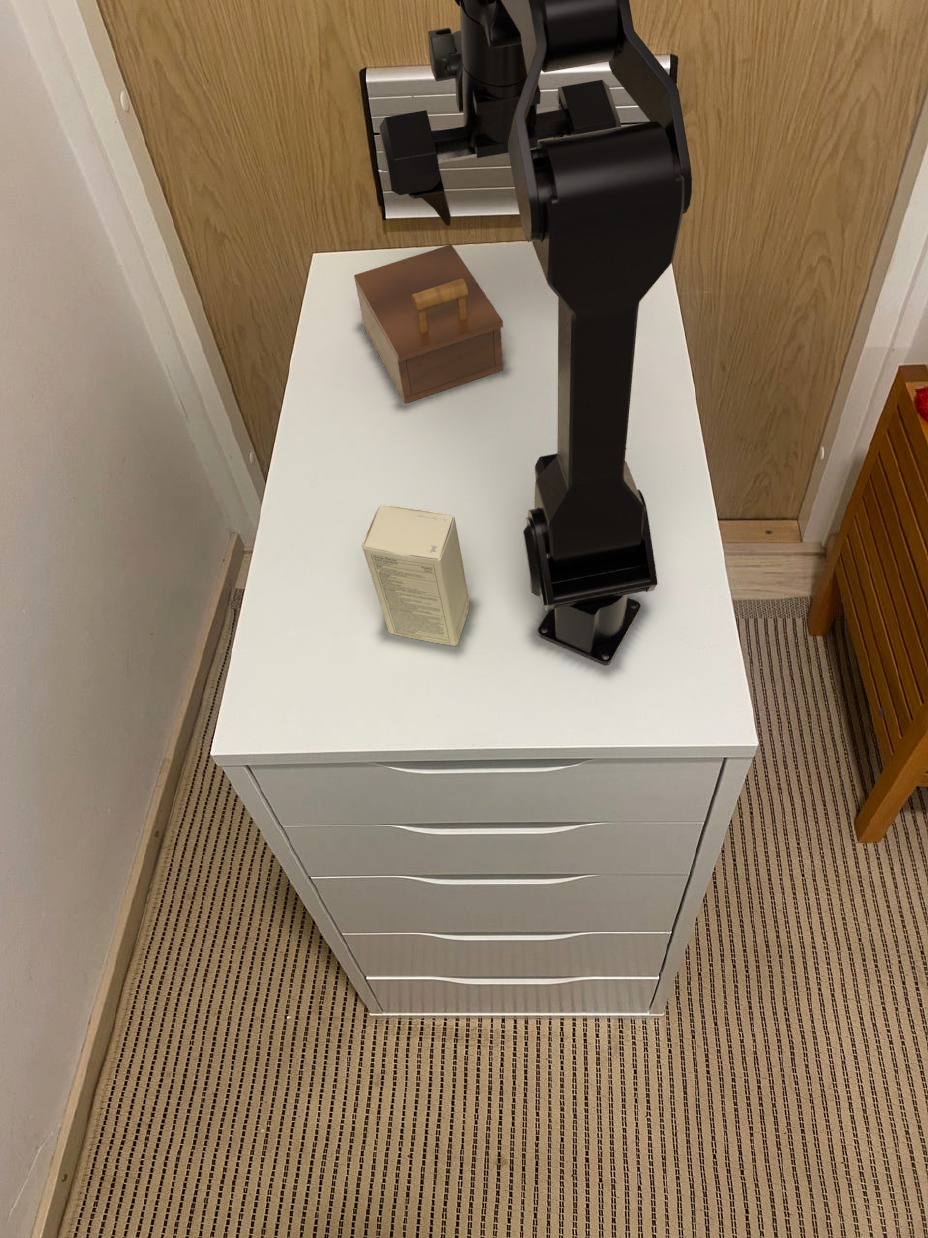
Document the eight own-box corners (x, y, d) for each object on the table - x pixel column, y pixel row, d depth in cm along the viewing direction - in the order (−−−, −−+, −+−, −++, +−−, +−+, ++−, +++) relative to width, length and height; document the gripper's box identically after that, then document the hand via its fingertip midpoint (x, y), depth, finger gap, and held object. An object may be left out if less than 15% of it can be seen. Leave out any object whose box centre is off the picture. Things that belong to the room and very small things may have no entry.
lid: (503, 327, 90) (501, 282, 86) (399, 361, 89) (391, 318, 84) (452, 250, 97) (447, 206, 93) (354, 281, 96) (346, 237, 91)
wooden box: (503, 370, 95) (500, 323, 90) (405, 403, 94) (397, 358, 89) (456, 297, 102) (452, 250, 97) (364, 328, 100) (355, 281, 96)
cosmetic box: (471, 606, 80) (459, 514, 70) (456, 649, 78) (442, 561, 67) (400, 592, 81) (379, 500, 71) (384, 635, 79) (359, 546, 69)
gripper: (599, -43, 72) (580, 125, 87) (357, -2, 71) (379, 160, 86) (635, 66, 68) (609, 221, 83) (381, 110, 68) (400, 259, 82)
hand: (498, 212), depth 84 cm, fingers open, 9 cm apart
